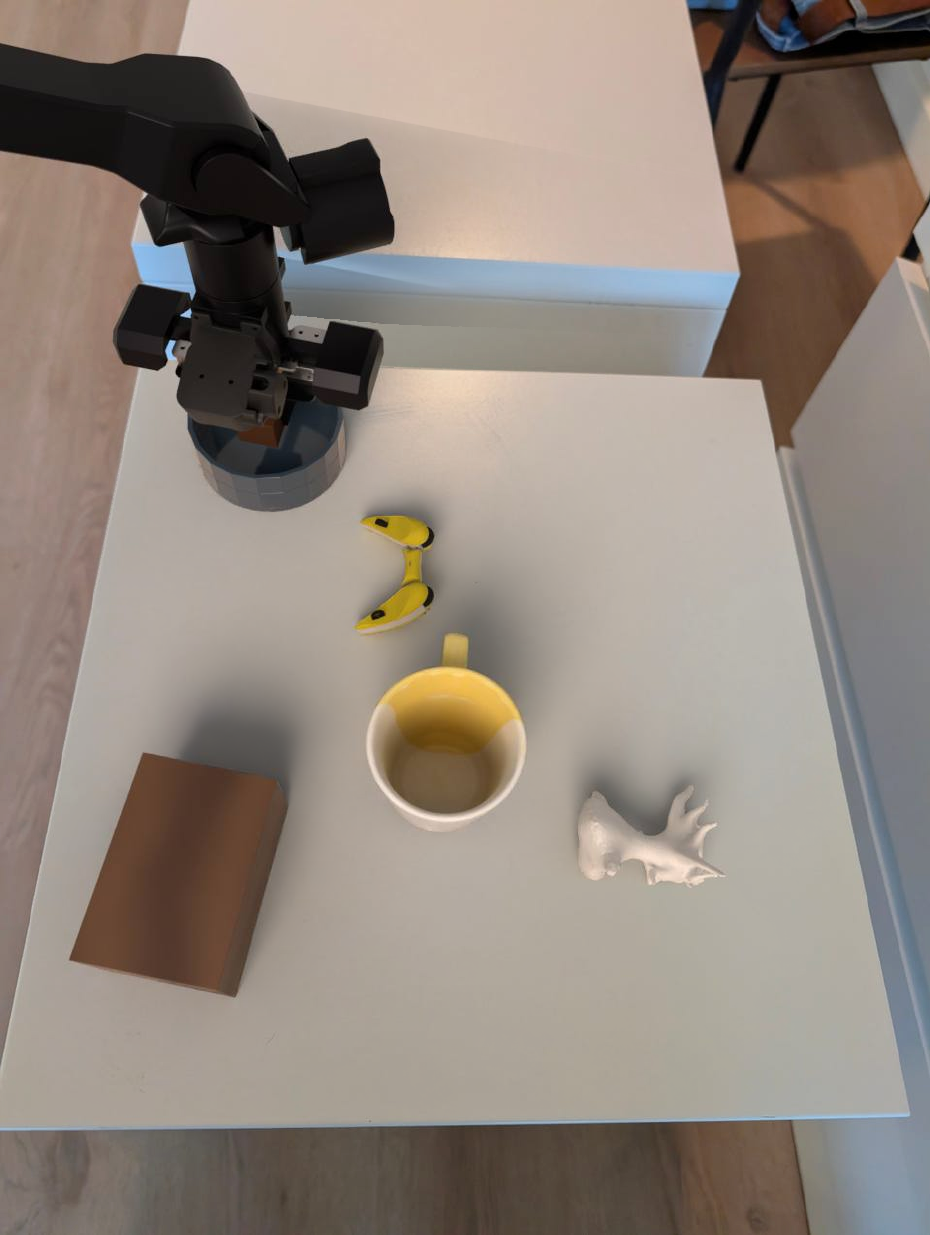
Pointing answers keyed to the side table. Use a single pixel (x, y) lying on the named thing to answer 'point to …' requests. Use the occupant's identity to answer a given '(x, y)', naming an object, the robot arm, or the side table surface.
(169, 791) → the stand
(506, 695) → the mug
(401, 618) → the game controller
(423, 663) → the side table surface
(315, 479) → the bowl
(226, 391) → the robot arm
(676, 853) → the figurine
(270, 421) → the chocolate ice cream bar
